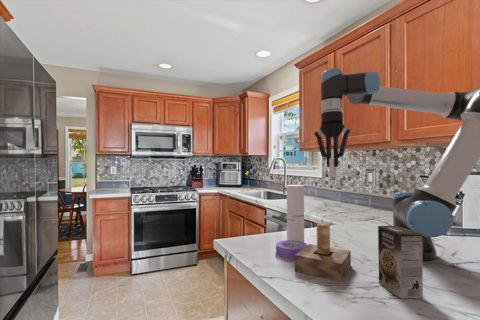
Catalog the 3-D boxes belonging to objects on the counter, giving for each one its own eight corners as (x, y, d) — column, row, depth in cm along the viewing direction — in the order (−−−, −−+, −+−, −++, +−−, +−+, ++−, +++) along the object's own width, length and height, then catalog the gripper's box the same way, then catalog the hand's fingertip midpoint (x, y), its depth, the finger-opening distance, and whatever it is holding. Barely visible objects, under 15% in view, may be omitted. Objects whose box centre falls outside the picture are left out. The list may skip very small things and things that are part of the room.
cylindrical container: (304, 247, 106) (304, 186, 106) (286, 246, 107) (286, 185, 108) (303, 242, 113) (303, 184, 113) (287, 241, 114) (286, 184, 115)
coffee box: (377, 283, 73) (376, 225, 74) (399, 282, 74) (398, 225, 74) (400, 299, 64) (399, 233, 65) (424, 298, 65) (423, 233, 65)
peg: (331, 267, 84) (331, 224, 85) (328, 272, 81) (328, 226, 81) (319, 265, 87) (318, 223, 87) (315, 269, 83) (315, 225, 84)
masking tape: (273, 257, 95) (273, 247, 95) (279, 248, 106) (279, 238, 106) (306, 261, 91) (306, 250, 91) (308, 251, 102) (308, 241, 102)
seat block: (350, 266, 86) (350, 250, 86) (341, 281, 74) (341, 263, 74) (309, 258, 94) (309, 244, 94) (294, 271, 82) (294, 254, 82)
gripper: (311, 112, 97) (311, 176, 96) (348, 108, 90) (349, 176, 89) (317, 115, 103) (317, 175, 102) (352, 112, 96) (353, 176, 95)
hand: (332, 176), depth 96 cm, fingers closed
